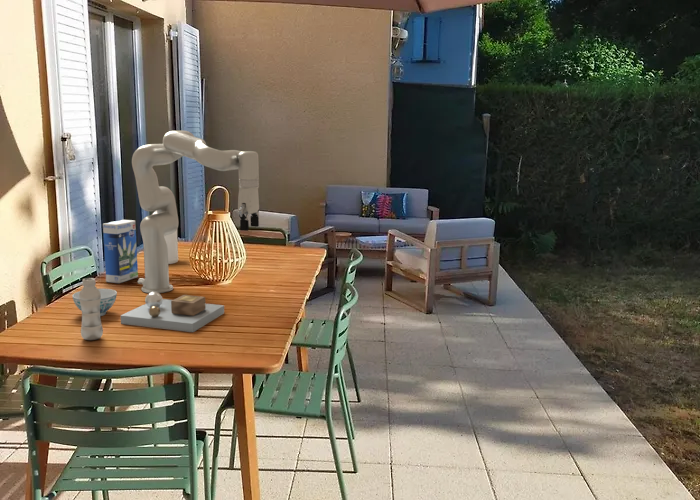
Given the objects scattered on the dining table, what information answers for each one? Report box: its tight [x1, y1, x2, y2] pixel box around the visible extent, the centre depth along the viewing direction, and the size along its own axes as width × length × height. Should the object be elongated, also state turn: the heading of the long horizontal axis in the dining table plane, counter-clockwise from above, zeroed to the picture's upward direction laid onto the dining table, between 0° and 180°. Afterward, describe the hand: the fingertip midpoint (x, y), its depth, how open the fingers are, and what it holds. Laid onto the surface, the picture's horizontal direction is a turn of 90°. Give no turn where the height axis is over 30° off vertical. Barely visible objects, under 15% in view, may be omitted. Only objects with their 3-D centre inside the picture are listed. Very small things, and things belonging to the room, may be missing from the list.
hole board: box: [120, 298, 225, 333], centre depth 231 cm, size 28×23×3 cm
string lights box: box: [102, 219, 139, 284], centre depth 282 cm, size 13×8×26 cm, turn 161°
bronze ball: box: [149, 306, 160, 317], centre depth 222 cm, size 4×4×4 cm
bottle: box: [151, 210, 179, 265], centre depth 317 cm, size 14×14×28 cm
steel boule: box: [144, 292, 164, 308], centre depth 232 cm, size 6×6×6 cm
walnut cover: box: [171, 294, 206, 316], centre depth 228 cm, size 9×9×5 cm
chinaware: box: [71, 288, 118, 317], centre depth 233 cm, size 15×15×8 cm
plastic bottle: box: [79, 277, 104, 341], centre depth 206 cm, size 6×7×20 cm
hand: (249, 228), depth 248 cm, fingers open, 9 cm apart
